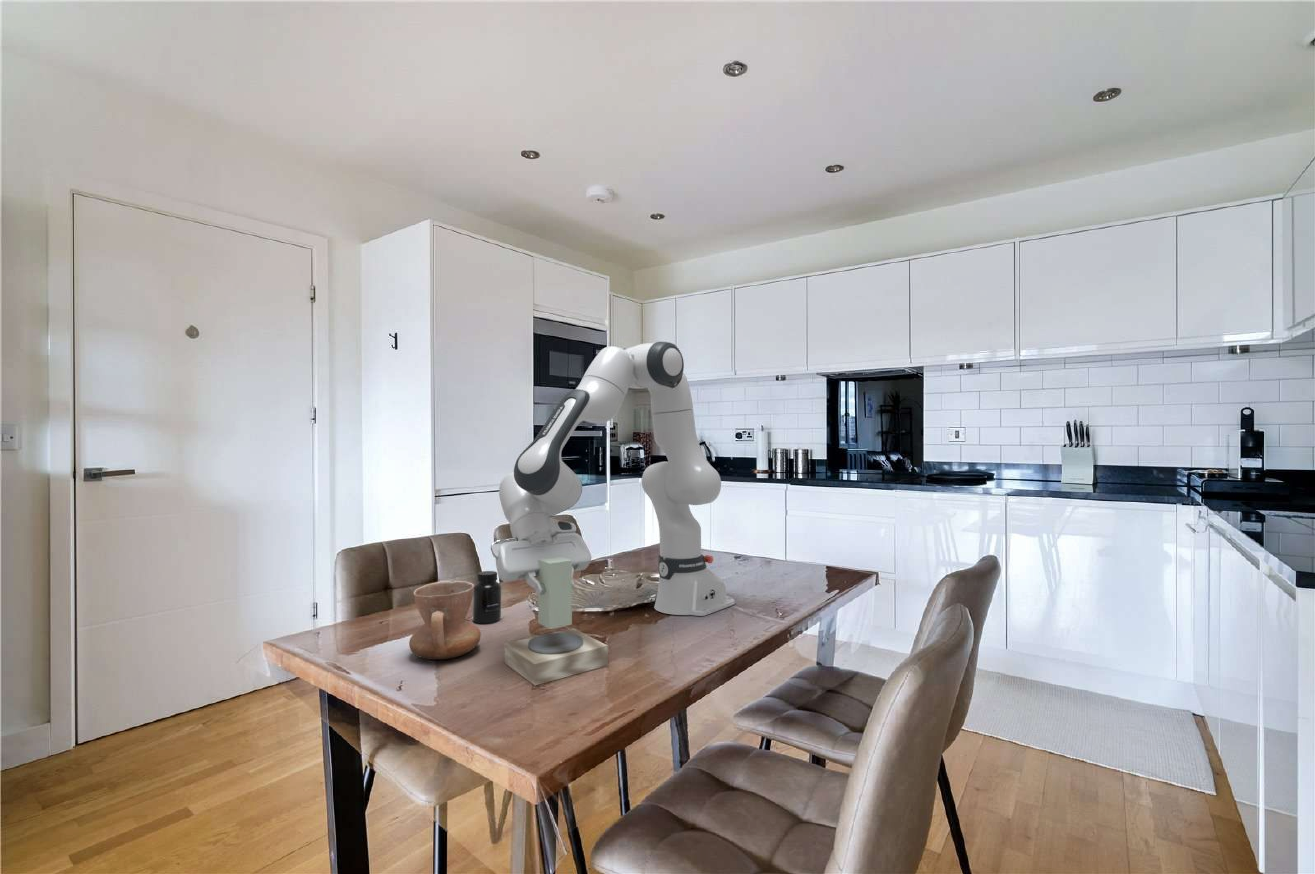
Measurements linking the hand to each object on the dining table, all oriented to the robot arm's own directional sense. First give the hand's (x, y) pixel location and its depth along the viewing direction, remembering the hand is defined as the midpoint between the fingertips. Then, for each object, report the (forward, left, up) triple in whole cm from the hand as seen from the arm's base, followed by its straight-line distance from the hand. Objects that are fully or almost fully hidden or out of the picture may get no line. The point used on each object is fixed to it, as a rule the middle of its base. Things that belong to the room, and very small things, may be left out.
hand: (556, 590), depth 123 cm
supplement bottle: (0, -38, -15) cm, 41 cm away
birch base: (0, -1, -15) cm, 15 cm away
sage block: (0, -1, -7) cm, 7 cm away
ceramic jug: (+16, -21, -15) cm, 30 cm away
